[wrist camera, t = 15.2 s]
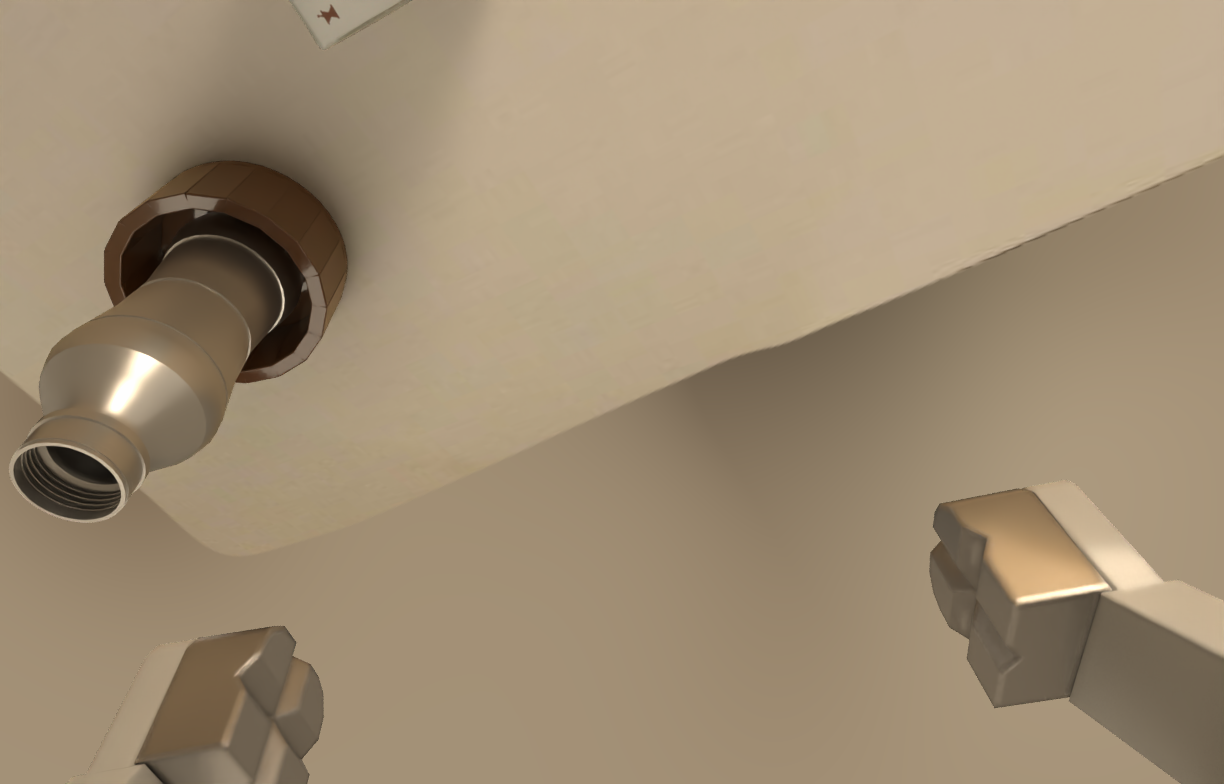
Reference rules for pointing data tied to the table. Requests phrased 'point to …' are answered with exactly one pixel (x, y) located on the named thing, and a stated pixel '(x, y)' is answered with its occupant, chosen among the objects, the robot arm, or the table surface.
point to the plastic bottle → (153, 370)
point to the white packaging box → (341, 17)
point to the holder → (256, 202)
